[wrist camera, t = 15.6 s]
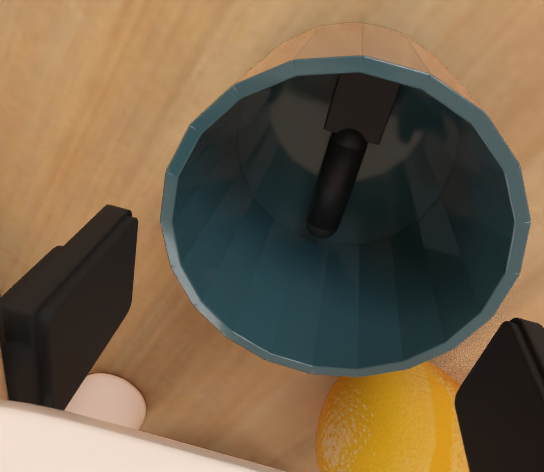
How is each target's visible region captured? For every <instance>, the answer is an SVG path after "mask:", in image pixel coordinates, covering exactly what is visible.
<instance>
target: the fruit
mask: <svg viewBox="0 0 544 472" xmlns="http://www.w3.org/2000/svg"><path fill="white" fill-rule="evenodd" d="M459 388H460V385H459V384H458V383H457V382H456V381H455V380H454V379H453V378H452V377H451V376H449V375H448V374H447V373H446V372H445V371H443V370H442V369H440V368H439V367H437V366H435V365H433V364H432V363H430V362H428V361H426V362H424V363H422V364H419V365H417V366H415V367H412V368H410V369H407V370H402V371H396V372H390V373H384V374H378V375H372V376H365V377H360V376H359V377H345V376H340V377H339V378H338V379H337V381H336V382H335V383H334V385H333V386H332V388H331V390H330V391H329V393H328V395H327V397H326V400H325V402H324V405H323V407H322V410H321V413H320V417H319V422H318V427H317V434H316V454H317V461H318V466H319V470H320V472H469V467H468V463H467V458H466V454H465V450H464V445H463V441H462V436H461V432H460V428H459V423H458V419H457V414H456V410H455V404H454V403H455V396H456V393H457V391H458V389H459Z"/></svg>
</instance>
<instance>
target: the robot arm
mask: <svg viewBox="0 0 544 472" xmlns="http://www.w3.org/2000/svg"><path fill="white" fill-rule="evenodd" d="M137 230H138V219H137V218H134V217H132V212H131V211H130V210H127V209H123V208H120V207H116V206H113V205H106V206H105V207H104V208H103V209H102V210H101V211H99V212H98V213H97V214H96V215H95V216H94V217H93V218H92V219H91V220H90V221H89V222H88V223H87V224H86V225H85V226H84V227H83V228H82V229H81V230H80V231H79V232H78V233H77V234H76V235H75V236H74V237H73V238H72V239H70V240H69V241H68V242H67V243H66V244H65V245H64V246H56V247H55V248H53V249H52V250H51V251H50V252H49V253H48V254H47V255H46V256H45V257H43V258H42V259H41V260H40V261H39V262H38V263H37V264H36V265H35V266H34V267H33V268H32V269H31V270H30V271H29V272H27V273H26V274H25V275H24V276H23V277H22V278H21V279H20V280H19V281H18V282H17V283H16V284H15V285H14V286H13V287H12V288H10V289H9V290H8V291H7V292H6V293H5V294H4V295H3V296H2V297H1V298H0V472H286V471H283V470H279V469H275V468H272V467H268V466H265V465H261V464H258V463H254V462H251V461H247V460H244V459H240V458H237V457H233V456H229V455H226V454H222V453H219V452H215V451H212V450H208V449H204V448H201V447H197V446H194V445H190V444H186V443H183V442H179V441H176V440H172V439H169V438H165V437H161V436H158V435H154V434H151V433H147V432H143V431H140V430H136V429H132V428H129V427H125V426H121V425H117V424H113V423H109V422H106V421H102V420H98V419H94V418H90V417H86V416H83V415H79V414H75V413H71V412H67V411H64V410H65V408H66V407H67V405H68V404H69V402H70V401H71V399H72V398H73V396H74V395H75V393H76V392H77V390H78V388H79V387H80V385H81V384H82V382H83V381H84V379H85V378H86V376H87V375H88V373H89V372H90V370H91V369H92V367H93V365H94V364H95V362H96V361H97V359H98V358H99V356H100V355H101V353H102V352H103V350H104V349H105V347H106V346H107V344H108V342H109V341H110V339H111V338H112V336H113V335H114V333H115V332H116V330H117V329H118V327H119V326H120V324H121V323H122V321H123V319H124V318H125V316H126V315H127V313H128V311H129V309H130V306H131V302H132V291H133V279H134V267H135V255H136V243H137ZM454 404H455V410H456V414H457V419H458V423H459V428H460V432H461V436H462V441H463V445H464V450H465V454H466V458H467V463H468V467H469V472H544V328H543V327H542V325H540V324H538V323H534V322H531V321H527V320H524V319H520V318H513V319H512V320H511V321H510V322H509V321H505V322H503V323H502V324H501V326H500V327H499V329H498V330H497V332H496V333H495V335H494V336H493V338H492V339H491V341H490V342H489V344H488V345H487V347H486V349H485V350H484V352H483V353H482V355H481V356H480V358H479V359H478V361H477V362H476V364H475V365H474V367H473V368H472V370H471V371H470V373H469V374H468V376H467V377H466V379H465V380H464V382H463V383H462V385H461V386H460V388H459V389H458V391H457V393H456V396H455V403H454Z"/></svg>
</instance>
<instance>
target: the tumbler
mask: <svg viewBox="0 0 544 472" xmlns="http://www.w3.org/2000/svg"><path fill="white" fill-rule="evenodd" d="M345 73H363V74H367V75H370V76H374V77H377V78H381V79H385V80H388V81H392V82H395V83H399V84H401V87H400V89H399V92H398V95H397V98H396V100H395V103H394V106H393V108H392V111H391V114H390V117H389V119H388V122H387V125H386V127H385V130H384V133H383V136H382V138H381V141H380V144H379V145H376V144H373V143H369V142H368V146H367V149H366V152H365V155H364V158H363V160H362V163H361V166H360V169H359V172H358V174H357V177H356V180H355V183H354V186H353V189H352V191H351V194H350V197H349V200H348V203H347V205H346V208H345V211H344V214H343V217H342V220H341V222H340V225H339V228H338V230H337V231H336V233H335V234H334V235H332V236H331V237H328V238H323V239H322V238H317V237H315V236H313V235H312V234H311V233H310V232H309V231H308V229H307V227H306V215H307V212H308V209H309V206H310V202H311V199H312V196H313V193H314V189H315V186H316V183H317V180H318V176H319V173H320V170H321V167H322V163H323V160H324V157H325V154H326V150H327V147H328V144H329V141H330V137H331V135H332V133H333V132H330V131H327V130H324V124H325V120H326V117H327V114H328V110H329V107H330V103H331V100H332V97H333V93H334V90H335V87H336V83H337V80H338V76H339V74H345ZM160 220H161V221H160V223H161V227H162V232H163V236H164V240H165V245H166V249H167V254H168V258H169V263H170V266H171V268H172V270H173V272H174V273H175V275H176V277H177V279H178V280H179V282H180V284H181V285H182V287H183V289H184V291H185V292H186V294H187V296H188V297H189V299H190V301H191V303H192V304H193V305H194V307H195V308H196V309H197V310H198V311H199V312H200V313H201V314H202V315H203V316H204V317H206V318H207V319H208V320H209V321H210V322H211V323H212V324H213V325H214V326H215V327H216V328H217V329H218V330H219V331H220V332H221V333H222V334H223V335H224V336H225V337H227V338H228V339H230V340H231V341H233V342H235V343H237V344H238V345H240V346H242V347H243V348H245V349H247V350H249V351H250V352H252V353H254V354H256V355H257V356H259V357H261V358H263V359H264V360H267V361H269V362H272V363H276V364H279V365H282V366H286V367H289V368H292V369H296V370H299V371H302V372H306V373H309V374H315V375H330V376H345V377H359V376H360V377H365V376H372V375H378V374H384V373H390V372H396V371H402V370H407V369H410V368H412V367H415V366H417V365H419V364H422V363H424V362H426V361H428V360H431V359H433V358H435V357H438V356H440V355H442V354H444V353H447V352H449V351H451V350H453V349H455V348H456V347H457V346H458V345H460V344H461V343H462V342H463V341H464V340H466V339H467V338H468V337H469V336H471V335H472V334H473V333H474V332H475V331H477V330H478V329H479V328H480V327H482V326H483V325H484V324H485V323H486V322H488V321H489V320H490V319H491V318H492V317H493V316H494V314H495V313H496V311H497V310H498V308H499V306H500V305H501V303H502V302H503V300H504V299H505V297H506V295H507V294H508V292H509V291H510V289H511V288H512V286H513V284H514V283H515V281H516V280H517V278H518V276H519V273H520V272H521V267H522V262H523V258H524V253H525V248H526V243H527V238H528V233H529V229H530V224H531V222H530V221H531V218H530V213H529V207H528V202H527V197H526V192H525V186H524V181H523V176H522V171H521V166H520V164H519V162H518V160H517V159H516V157H515V156H514V154H513V153H512V151H511V150H510V148H509V147H508V145H507V144H506V142H505V141H504V139H503V138H502V136H501V135H500V133H499V132H498V130H497V128H496V127H495V125H494V124H493V122H492V121H491V119H490V118H489V116H488V115H487V114H486V112H485V111H484V110H483V109H482V108H481V107H480V106H479V104H478V103H477V102H476V101H475V100H474V99H473V98H472V97H471V95H470V94H469V93H468V92H467V91H466V90H465V89H464V87H463V86H462V85H461V84H460V83H459V82H458V81H457V79H456V78H455V77H454V76H453V75H452V74H451V73H450V72H449V70H448V69H447V68H446V67H445V66H444V65H443V64H442V62H441V61H440V60H439V59H438V58H437V57H436V56H434V55H433V54H431V53H430V52H429V51H428V50H426V49H425V48H423V47H422V46H421V45H419V44H418V43H417V42H415V41H414V40H412V39H410V38H409V37H408V36H406V35H404V34H402V33H399V32H396V31H393V30H390V29H387V28H385V27H381V26H376V25H371V24H366V23H341V24H331V25H327V26H321V27H317V28H315V29H312V30H310V31H307V32H304V33H302V34H299V35H298V36H296V37H294V38H292V39H290V40H287V41H285V42H283V43H282V44H280V45H279V46H278V47H277V48H276V49H274V50H273V51H272V52H271V53H270V54H269V55H267V56H266V57H265V58H264V59H263V60H261V61H260V62H259V63H258V64H257V65H256V66H254V67H253V68H252V69H251V70H250V71H249V72H247V73H246V74H245V75H244V76H243V77H241V78H240V79H239V80H238V81H237V82H236V83H234V84H233V85H232V86H231V87H230V88H229V89H228V90H227V91H225V92H224V93H223V94H222V95H221V96H220V97H219V98H218V99H217V100H216V101H214V102H213V103H212V104H211V105H210V106H209V107H208V108H207V109H206V110H205V111H204V112H202V113H201V114H200V115H199V116H198V117H197V118H196V119H195V120H194V121H193V122H192V123H191V124H190V125H189V127H188V129H187V131H186V133H185V135H184V137H183V138H182V140H181V142H180V144H179V146H178V148H177V150H176V152H175V154H174V156H173V158H172V160H171V162H170V164H169V166H168V168H167V170H166V173H165V181H164V190H163V198H162V207H161V216H160Z"/></svg>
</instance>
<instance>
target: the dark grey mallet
mask: <svg viewBox="0 0 544 472" xmlns="http://www.w3.org/2000/svg"><path fill="white" fill-rule="evenodd" d="M400 87H401V84H399V83H395V82H392V81H388V80H385V79H381V78H377V77H374V76H370V75H367V74H363V73H345V74H339V76H338V80H337V83H336V87H335V90H334V93H333V97H332V100H331V103H330V107H329V110H328V114H327V117H326V120H325V124H324V130H327V131H330V132H333V133H332V135H331V137H330V141H329V144H328V147H327V150H326V154H325V157H324V160H323V163H322V167H321V170H320V173H319V176H318V180H317V183H316V186H315V189H314V193H313V196H312V199H311V202H310V206H309V209H308V212H307V215H306V227H307V229H308V231H309V232H310V233H311V234H312V235H313V236H315V237H317V238H322V239H323V238H328V237H331V236H332V235H334V234H335V233H336V231H337V230H338V228H339V225H340V222H341V220H342V217H343V214H344V211H345V208H346V205H347V203H348V200H349V197H350V194H351V191H352V189H353V186H354V183H355V180H356V177H357V174H358V172H359V169H360V166H361V163H362V160H363V158H364V155H365V152H366V149H367V146H368V142H369V143H373V144H376V145H379V144H380V141H381V138H382V136H383V133H384V130H385V127H386V125H387V122H388V119H389V117H390V114H391V111H392V108H393V106H394V103H395V100H396V98H397V95H398V92H399V89H400Z"/></svg>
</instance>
